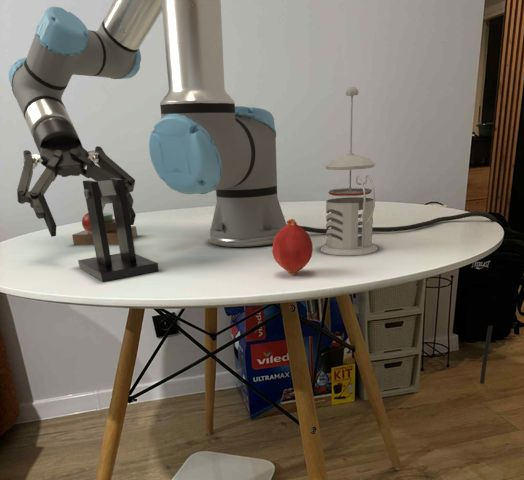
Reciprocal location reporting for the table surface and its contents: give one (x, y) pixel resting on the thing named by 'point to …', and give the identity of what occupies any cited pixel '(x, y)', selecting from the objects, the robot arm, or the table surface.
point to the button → (108, 217)
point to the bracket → (126, 260)
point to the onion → (292, 247)
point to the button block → (111, 231)
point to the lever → (106, 197)
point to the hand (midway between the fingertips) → (94, 225)
